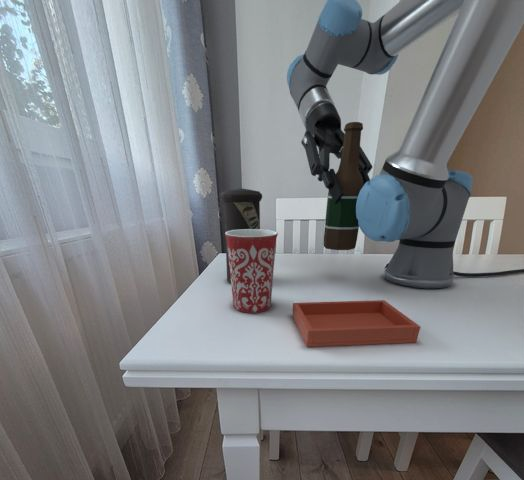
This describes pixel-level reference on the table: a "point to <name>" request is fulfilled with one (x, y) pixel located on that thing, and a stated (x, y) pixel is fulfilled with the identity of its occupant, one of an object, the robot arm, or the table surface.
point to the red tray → (353, 323)
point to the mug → (251, 268)
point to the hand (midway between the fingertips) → (355, 198)
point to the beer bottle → (345, 194)
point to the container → (240, 213)
